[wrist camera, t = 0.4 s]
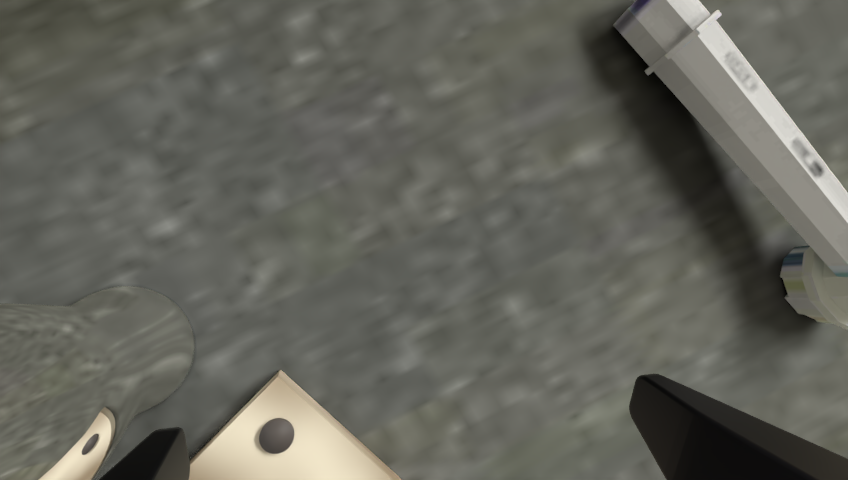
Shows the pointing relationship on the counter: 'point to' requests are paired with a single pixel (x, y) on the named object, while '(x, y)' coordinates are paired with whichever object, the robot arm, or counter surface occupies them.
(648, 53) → the grey long bar
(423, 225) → the counter surface
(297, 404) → the bolt plate
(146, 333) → the metal tumbler
